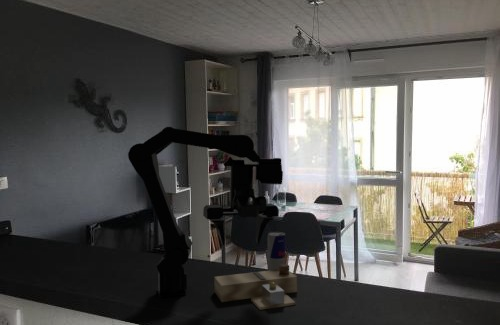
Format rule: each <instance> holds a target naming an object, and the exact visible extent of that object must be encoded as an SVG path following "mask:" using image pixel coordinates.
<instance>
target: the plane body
mask: <svg viewBox="0 0 500 325" xmlns="http://www.w3.org/2000/svg"><path fill="white" fill-rule="evenodd" d="M270 282H276V284H277V285H278V286H279V287H280V288H281V289H283V290H284V294H291V293H297V292H298V276H297V275H295V273H292V271H290V264H287V263H286V264H282V265H279V269H278V270H270V271H268V270H263V271H262V270H261V271H254V272H245V273H236V274H235V273H234V274H228V275H226V274H225V275H218V276H214V294H216V296H217V298H218V299H219V300H220V302H221V303H226V302H231V301H239V300H246V299H247V300H248V299H251V298H255V297H262V285H265V284H269V283H270Z"/></svg>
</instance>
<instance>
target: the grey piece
mask: <svg viewBox="0 0 500 325" xmlns="http://www.w3.org/2000/svg"><path fill="white" fill-rule="evenodd" d="M262 298H263V299H264V300H266V301H267V302H268V303H269V304H270V305H276V304H283V303H284V290H283V289H281V288H280V287H279V286H278V285H277V284H276V282H270V283H269V284H265V285H262Z"/></svg>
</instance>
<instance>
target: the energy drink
mask: <svg viewBox="0 0 500 325" xmlns="http://www.w3.org/2000/svg"><path fill="white" fill-rule="evenodd" d="M282 264H286V265H287V236H286V233H285V232H280V231H272V232H268V234H267V271H270V270H278V269H279V265H282Z"/></svg>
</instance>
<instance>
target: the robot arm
mask: <svg viewBox="0 0 500 325" xmlns="http://www.w3.org/2000/svg"><path fill="white" fill-rule="evenodd" d="M173 143H174V144H181V145H185V146H186V145H187V146H194V147H199V148H204V149H213V150H217V151H220V152H223V153H226V154H228V155H232V156H235V157H236V158H237V157H238V158H241V159H234V158H232V156H229V157H228V159H227V160H226V161H224V162H223V167H230V186H229V191H230V198H229V199H230V201H229V203H228V204H229V207H223V206H221V205H220V204H206V205H205V206H204V207H203V209H202V210H203V213H202V214H203V217H205V219H206V220H209V221H210V222H211V223H213V224H214V226H215V229H216V231H217V234H218V237H219V240H220V243H221V246H225V242H226V240H225V239H226V238H225V227H224V225H225V220H224V219H223V217H224V216H237V215H238V216H239V217H240V218H242V219H246V218H256V220H255V223H256V225H255V242H256V244H257V245H258V244H260V241H261V240H262V236H263V233H264V231H265V228H266V226H267V225H268V224H269V223H270V222H271V221H274V220H275V219H274V218H278V217H280V216H279V214H280V211H279V207H278V206H277V205H275V204H273V203H267V197H266V196H257V197H256V196H255V189H254V185H253V184H254V178H255V181H258V182H259V185H282V184H283V179H284V178H283V177H284V172H283V167H282V166H283V165H282V158H280V157H275V158H261V157H260V154H258V153H257V152H256V150H255V144H254V141H253V139H252V138H251V137H250V136H248V135H246V134H222V135H221V134H219V135H218V134H212V133H206V132H199V131H193V130H186V129H180V128H176V127H172V126H166V127H163V128H162V130H160V131H159V132H158V133H156V134H155V135H153V136H151V137H150V138H148V139H146V141H144V142H143V143H135V144H133V145H132V146H131V147H130V148H129V151H128V152H127V157H128V160H129V163H130V164H131V165H132V167H133V169H134V171H135V172H136V173H137V175H138V176H139V177H140V179H141V180H142V181H143V183H144V184H143V185H144V186H145V190H146V191H147V194H148V198H149V200H150V203H151V205H152V208H153V211H154V213H155V215H156V218H157V221H158V223H159V227H160V229H161V231H162V242H163V243H162V244H163V250H164V251H163V252H164V255H162V257H161V259H160V260H159V262H158V264H157V265H156V269H157V271H158V272H157V274H158V276H157V277H158V278H157V279H158V284H157V285H158V287H157V293H158V296H159V298H163V299H164V298H168V297H169V298H170V297H177V296H186V295H187V291H186V290H187V281H188V280H187V273H186V272H185V268H184V266H183V265H184V264H186V262H187V261H188V260H189V257H190V254H191V253H192V245H193V242H192V240H191V239H190V236H189V231H188V229H185V230H182V229H181V227H180V226H179V225H178V222H177V220H176V217H175V214H174V211H173V208H172V207H171V206H172V205H171V204H170V201H169V198H168V196H167V192H166V190H165V188H164V184H163V182H162V179H161V175H160V170H159V168H160V167H159V159H158V155H159V154H160V153H162V152H163V151H164V150H165V149H166V148H168V147H169V146H170V145H171V144H173ZM242 158H243V159H242ZM244 158H246V159H248V160H250V161H251V162H253V163H245V159H244ZM254 167H255V171H254ZM254 172H255V173H254ZM254 174H255V176H254Z"/></svg>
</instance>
